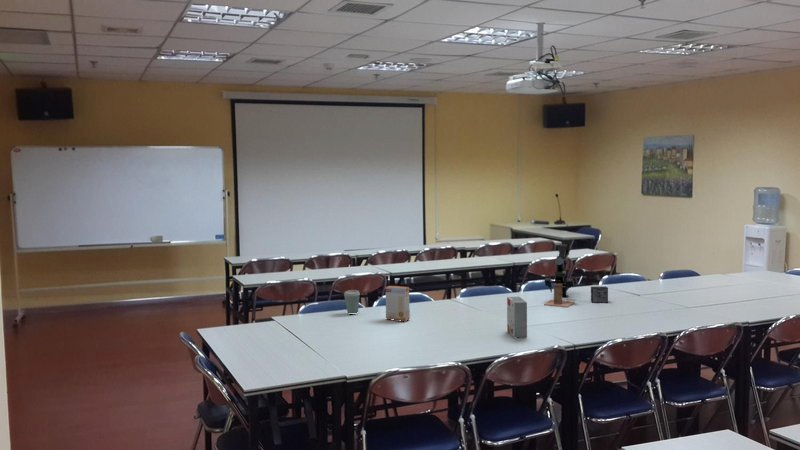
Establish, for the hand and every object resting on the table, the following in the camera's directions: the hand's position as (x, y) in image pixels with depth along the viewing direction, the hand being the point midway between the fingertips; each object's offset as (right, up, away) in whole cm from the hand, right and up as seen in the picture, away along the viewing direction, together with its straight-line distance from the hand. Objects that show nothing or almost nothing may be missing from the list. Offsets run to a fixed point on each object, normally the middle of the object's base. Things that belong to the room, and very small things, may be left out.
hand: (558, 292), depth 436 cm
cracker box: (-108, -14, -36) cm, 114 cm away
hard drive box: (-41, -16, -74) cm, 86 cm away
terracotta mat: (+1, -8, +3) cm, 9 cm away
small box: (+30, -7, +8) cm, 32 cm away
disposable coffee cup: (-137, -12, -17) cm, 139 cm away
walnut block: (0, -7, 0) cm, 7 cm away
